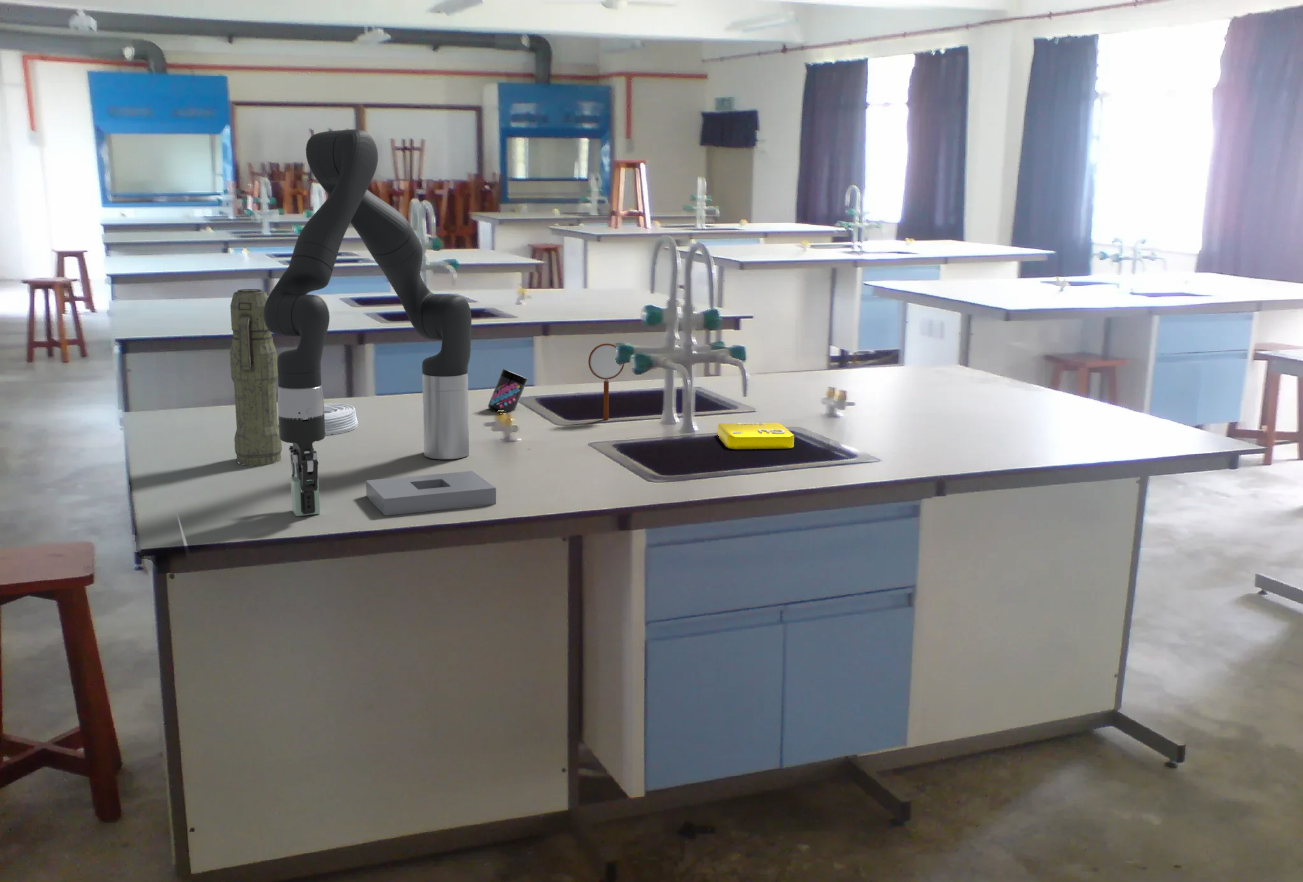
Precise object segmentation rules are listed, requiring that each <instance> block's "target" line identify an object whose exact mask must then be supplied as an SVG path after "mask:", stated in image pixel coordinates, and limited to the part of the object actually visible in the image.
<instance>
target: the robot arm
mask: <svg viewBox="0 0 1303 882" xmlns="http://www.w3.org/2000/svg"><path fill="white" fill-rule="evenodd" d="M305 156H306V161H307V164H308V167H309V169H310V171H311V173H312V175H313V177H315V179H316V180H317V183H319V185H320V186H321V187H322V188H323V189H324V191H325V192H326V193H327V195H328V197H327V199H325V201H323V204H322V205H321V206H320V207H319V208H318V209H317V210H316V212H314V214H313V215H312V216H311V217H310V218H309V220H307V222H306V223H305V224H304V226H303V228H302V229H301V230H300V232H299V234H298V236H297V239H296V242H295V244H294V247H293V251H292V254H291V257H290V261H289V265H288V267H287V268H286V270H285V271H284V272H283V273H282V275H281V277H280V278H279V280H278V281H277V283H276V285H274V287H273V289H272V290H271V291H270V293H269V294H268V295H267V296H268V298H267V301H266V303H265V306H264V322H265V325H266V327H267V328H268V330H269V331H270V332H271V334H274V335H277V336H286V337H300V339H299V343H298V346H297V348H295V349H289V350H284V351H281V353H279V354H278V355H277V370H278V377H277V384H278V386H277V388H278V389H277V418H278V427H279V438H280V440H281V441H282V443H283V442H284V443H288V444H290V443H291V444H292V445H289V448H288V451H289V457H290V468H291V469H290V470H291V477H294V476H295V477H296V479H298V480H299V486H300V488H299V491H300V495H301V512H302V513H303V514H310V513H314V512H315V497H314V492H315V491H317V488H318V486H317V481H318V480H319V478H318V477H319V476H318V475H319V474H318V473H319V472H318V471H319V461H318V452H317V451H316V450H315V449H314V446H313V444H314V443H315V442H320V441H322V440H324V439H325V437H326V436H325V418H324V404H325V398H324V393H323V392H324V391H323V388H322V370H321V369H322V367H321V364H322V363H321V362H322V356H323V351H324V347H325V342H326V337H327V334H328V330H329V325H330V318H331V317H330V311H329V307H328V305H327V303H326V301H325V300H324V299H323V298H322V297H321V296H319V295H316V294H309V293H311V292H315V291H319V290H322V289H325V288H326V287H327V286H328V285H329V283H330V280H331V277H332V274H333V271H334V268H335V264H336V261H337V258H338V254H339V251H340V249H341V245H342V241H343V240H344V236H345V234H346V232H347V230H348V228H349V226H350V224H351V225H352V227H353V228H354V230H355V231H356V233H357V234H358V236H359V237H360V239H361V240H362V242H363V243H364V245H365V247H366V249H367V250H368V252H369V253H370V255H371V257H372V258H373V260H374V261H375V263H376V264H377V265H378V266H379V268H380V269H381V271H382V273H383V274H384V276H385V277H386V279H387V281H388V282H389V283H390V285H391V287H392V289H393V290H394V292H395V294H396V295H397V298H398V299H399V301H400V304H401V305H402V307H403V309H404V311H405V314H406V316H407V317H408V320H409V321H410V324H411V325H412V327H413V328H414V330H415V331H416V333H417V334H418V335H419V336H421V337H422V338H425V339H428V340H437V341H441V346H440V351H439V352H438V353H437V354H434V355H432V356H429V357H426V358H425V359H423V361H422V364H421V373H422V374H421V376H422V379H421V381H422V411H423V413H422V414H423V417H422V418H423V419H422V420H423V452H424V453H423V455H424V457H426V458H429V459H433V460H455V459H457V460H458V459H462V458H465V457H466V458H467V457H469V455H470V437H469V436H470V430H469V429H470V428H469V427H470V426H469V425H470V423H469V421H470V419H469V416H470V415H469V376H468V375H469V372H468V370H469V369H468V368H469V364H470V363H469V362H470V359H471V348H472V347H471V345H472V344H471V343H472V312H471V308H470V307H471V306H470V304H469V302H468V301H467V299H466V298H464V297H463V296H461V295H454V294H453V295H451V294H435V293H433V292H432V291H431V290H430V288H428V287H427V285H426V284H425V281H424V280H423V278H422V276H421V270H422V265H423V259H424V257H423V256H424V255H423V251H424V250H423V246H422V243H421V241H420V239H419V237H418V235H417V234H416V232H415V231H414V229H413V227H412V226H411V224H410V222H409V221H408V219H407V218H406V217H405V216H404V215H403V214H402V213H401V212H400V211H398V210H397V209H396V208H394V207H393V206H392V205H390V204H389V203H388V202H385V201H384V200H383V199H381V198H380V197H378V196H377V195H375V194H374V193H373V192H371V190H369V187H370V185H371V183H372V180H373V179H374V177H375V173H376V170H377V167H378V163H379V162H378V161H379V154H378V148H377V144H376V141H375V140H374V138H373V137H372V135H371V134H370V133H368V132H367V131H365V130H362V129H354V128H353V129H341V130H340V129H339V130H328V131H322V132H321V131H320V132H318V133H315V134H313V135H311V136H310V137H309V139H308V140H307V142H306V146H305ZM307 480H311V484H306V481H307Z"/></svg>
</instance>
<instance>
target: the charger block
mask: <svg viewBox="0 0 1303 882" xmlns="http://www.w3.org/2000/svg"><path fill="white" fill-rule="evenodd" d="M319 483H320V482H319V479H318V481H317V486H318V488H317V491H315V492H314V497H315V512H314V513H310V514H303V513H302V512H301V495H300V491H299V488H300V486H299V480H298V479H296V477H295V476H294V477H292V476H290V492H291V493H290V494H291V496H290V497H291V511H292V513H293V514H294V516H296V517H303V516H311V515H320V514H321V510H320V508H321V505H320V504H321V503H320V484H319ZM306 484H311V480H307V481H306Z"/></svg>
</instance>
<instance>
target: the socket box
mask: <svg viewBox="0 0 1303 882" xmlns="http://www.w3.org/2000/svg"><path fill="white" fill-rule="evenodd" d="M365 489H366V490H365V491H366V493H365V494H366V497H367V498H368V499H369V501H370V502H371V503H372V504H373V505H374V506H375V507H376V508H377V509H378V510H379V512H381V513H382V515H383V516H394V515H396V516H397V515H406V514H413V513H415V514H416V513H423V512H424V513H425V512H434V511H444V510H454V509H462V508H472V507H479V506H490V505H489V504H492V505H496V504H497V487H495V485H493V484H491V483H490V482H488V481H487V480H486V479H484V478H483V477H481V476H480V475H479V474H477V473H476V472H474V471H473V470H469V471H458V472H455V471H454V472H445V473H444V472H443V473H435V474H425V475H424V474H423V475H413V476H412V475H411V476H402V477H401V476H400V477H391V478H389V477H388V478H381V479H380V478H378V479H370V480H369V479H367V480H365Z"/></svg>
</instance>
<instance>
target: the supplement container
mask: <svg viewBox="0 0 1303 882" xmlns="http://www.w3.org/2000/svg"><path fill="white" fill-rule="evenodd" d="M528 380H529V379H528V378H527V377H524V376H522V375H520V374H517V373H515V372H512V371H510V370H508V369H505V368H502V370H501V372H500V375H499V378H498V380H497V382H496V385H495V387H494V390H493V392H492V395H491V397H490V399H489V401H488V404H487V408H488V409H489V410H491V411H493V412H496V413H498V412H497V411H498V410H504V411H506V412H505V413H508V412H509V413H510V412H514V411H515V410H516V408H517V406H518V404H519V401H520V399H521V397H522V396H523V395H522V394H523V392H524V391H525V387H526V385H527V382H528Z"/></svg>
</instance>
